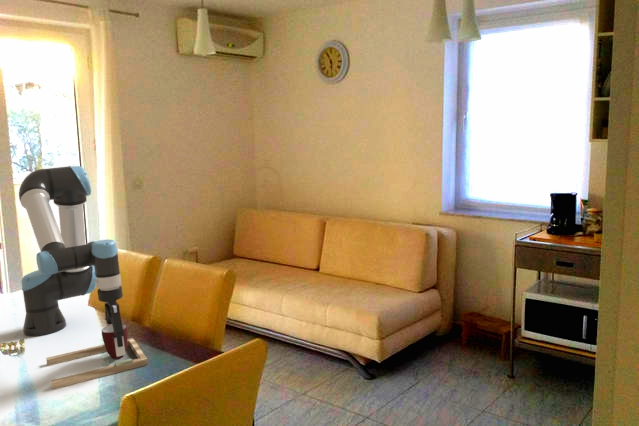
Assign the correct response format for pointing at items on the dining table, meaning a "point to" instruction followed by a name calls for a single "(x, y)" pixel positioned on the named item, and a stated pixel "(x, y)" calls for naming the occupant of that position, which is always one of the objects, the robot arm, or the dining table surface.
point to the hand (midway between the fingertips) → (117, 348)
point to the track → (97, 372)
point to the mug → (110, 342)
